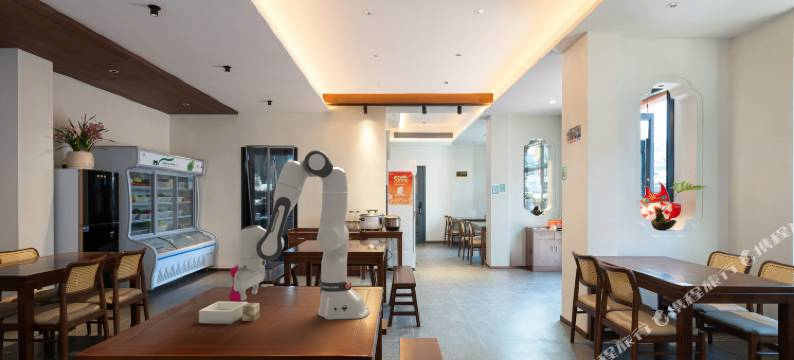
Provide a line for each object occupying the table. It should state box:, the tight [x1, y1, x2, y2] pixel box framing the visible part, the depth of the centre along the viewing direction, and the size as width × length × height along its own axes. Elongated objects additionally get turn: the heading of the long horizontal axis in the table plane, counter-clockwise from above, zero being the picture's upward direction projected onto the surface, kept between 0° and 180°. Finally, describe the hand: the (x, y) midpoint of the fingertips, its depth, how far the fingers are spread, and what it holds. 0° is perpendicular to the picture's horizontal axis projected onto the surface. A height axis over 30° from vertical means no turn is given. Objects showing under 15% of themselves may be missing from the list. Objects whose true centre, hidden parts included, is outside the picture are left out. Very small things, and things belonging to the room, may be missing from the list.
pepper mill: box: [228, 262, 245, 302], centre depth 191 cm, size 7×7×20 cm
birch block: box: [242, 302, 260, 322], centre depth 171 cm, size 5×5×6 cm
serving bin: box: [198, 300, 249, 325], centre depth 173 cm, size 14×14×5 cm
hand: (249, 296), depth 171 cm, fingers open, 8 cm apart
